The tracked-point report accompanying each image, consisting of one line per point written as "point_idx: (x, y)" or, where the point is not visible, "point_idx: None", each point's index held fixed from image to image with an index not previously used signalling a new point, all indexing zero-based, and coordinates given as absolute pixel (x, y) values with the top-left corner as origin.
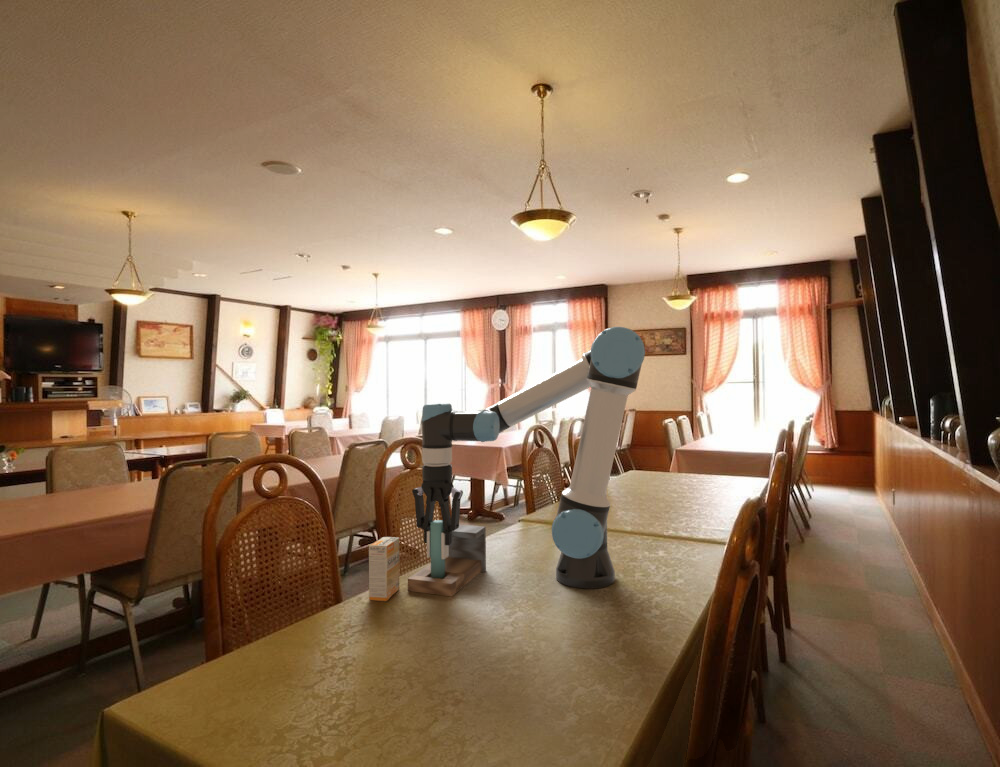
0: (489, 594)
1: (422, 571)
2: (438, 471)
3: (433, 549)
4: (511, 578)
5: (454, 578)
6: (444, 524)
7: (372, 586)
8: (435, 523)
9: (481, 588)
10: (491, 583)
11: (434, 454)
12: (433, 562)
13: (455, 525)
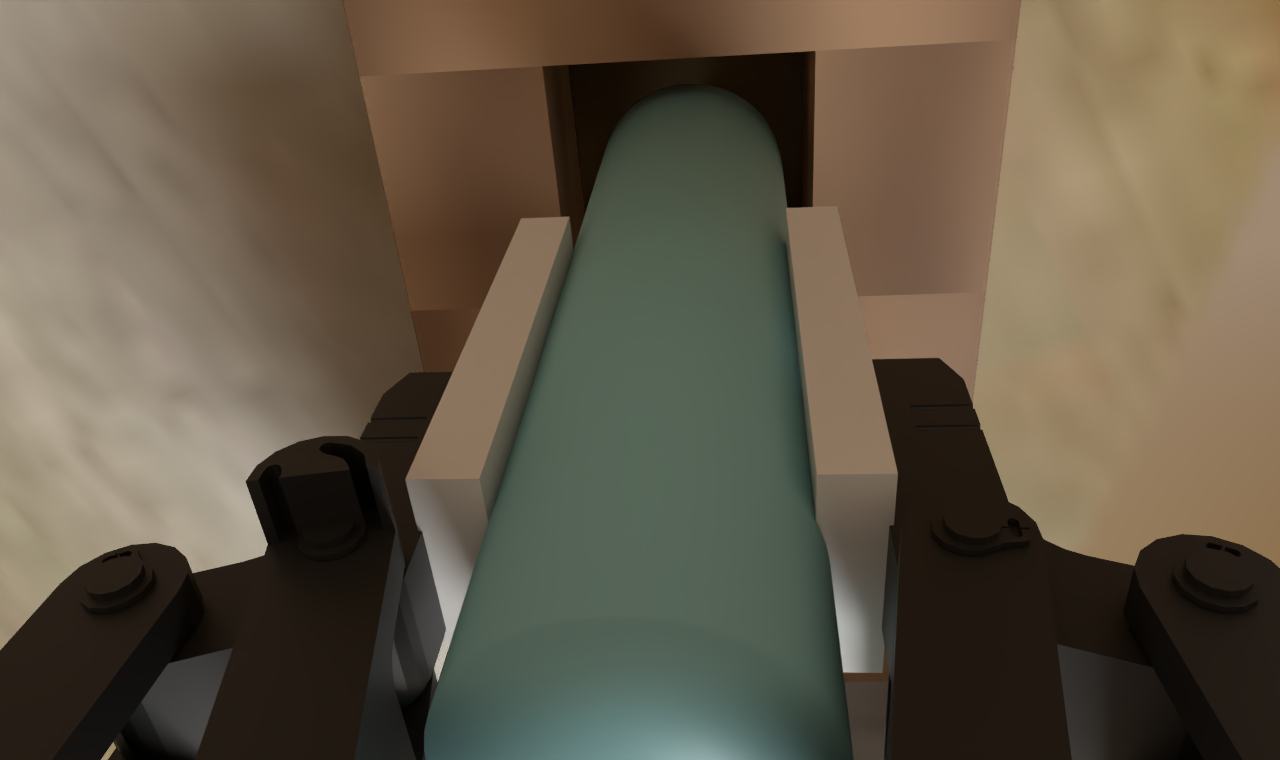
0: (74, 129)
1: (941, 218)
2: None
3: (689, 249)
4: (181, 535)
5: (419, 133)
6: (325, 657)
7: None
8: (595, 639)
9: (250, 247)
10: (252, 388)
11: None
12: (698, 162)
13: (10, 665)
